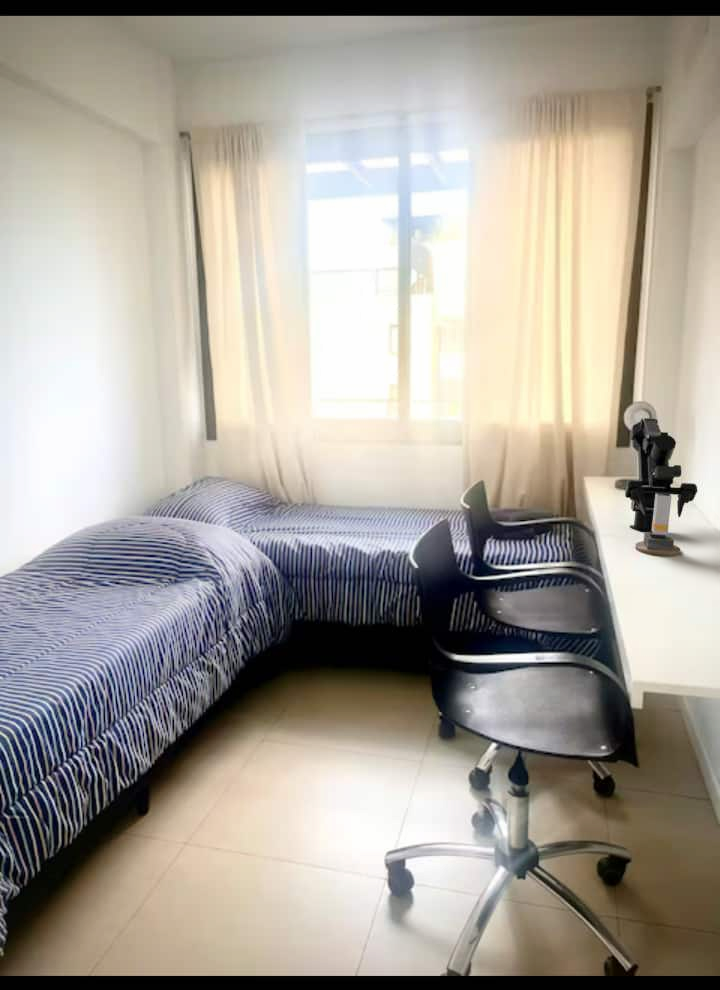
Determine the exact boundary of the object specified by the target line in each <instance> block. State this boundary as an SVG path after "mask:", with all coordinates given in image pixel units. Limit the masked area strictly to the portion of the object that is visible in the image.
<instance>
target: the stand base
mask: <svg viewBox="0 0 720 990" xmlns="http://www.w3.org/2000/svg"><path fill="white" fill-rule="evenodd" d="M643 534H644V535H643V541H638V542H636V543H635V550H636V551H638V552H640V553H643V554H646V555H650V556H657V557H675V556H679V555H680V553H681V547H679V546H678V545H675V541H674V539H673V537H672V536H671V534H668V533H667V535H665V534H654V533H653V532H643Z"/></svg>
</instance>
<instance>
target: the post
mask: <svg viewBox="0 0 720 990" xmlns="http://www.w3.org/2000/svg"><path fill="white" fill-rule="evenodd" d="M672 497H673V495H672V494H669V493H656V494H655V503H654V513H653V521H652V531H651V533H652V534H665V535H667V534H668V531H669V522H670V513H671V505H672Z"/></svg>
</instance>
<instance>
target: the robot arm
mask: <svg viewBox="0 0 720 990" xmlns="http://www.w3.org/2000/svg"><path fill="white" fill-rule="evenodd" d="M658 422H659V421H658V419H656V418H653V417H652V418H649V417H648V418H646V417H645V418H644V417H643V418H640V421H639V422H637V423H635V424H633V425H632V427H631V430H630V436H629V439H630V441H631V444H632V448H633V449H634V450H635V451H636V452H637V460H638V462H637V463H638V477H639V480H632V479H631V480H630V479H629V480H628V481H627V483H626V486H625V489H624V493H625V494H624V496H625V498H626V499H627V498H628V499H629V500H630V501H631V502H630V508H631V509H630V510H632V512H634V513H635V514H634V521H633V522H634V523H633V524H630V525H629V528H631V529H633V530H636V531H638V532H640V533H641V532H642V533H649V532H652V521H653V513H654V503H655V494H656V493H669V494H670V495H671V496H673V495H674V496H676V495H677V501H676V503H677V516H678V518H681V515H682V513H683V509H684V506H685V504H688V503H689V502H692V501H694V500H695V497H696V495H697V493H698V486H697V485H696V483H691V482H689V483H688V482H681V484H680V486H679V487H673V486H671V485H673V484H674V479H675V478H680V477H681V476H682V465H679V464H678V465H677V464H674V465H673V466H670V462H669V461H670V460H671V458H672V455H673V453H674V451H675V449H676V445H677V441H676V440H675V438H673V436H671V435H669V433H668V431H667V432H665V431H663V432H662V431H661V428H660V426H659V423H658Z"/></svg>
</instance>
